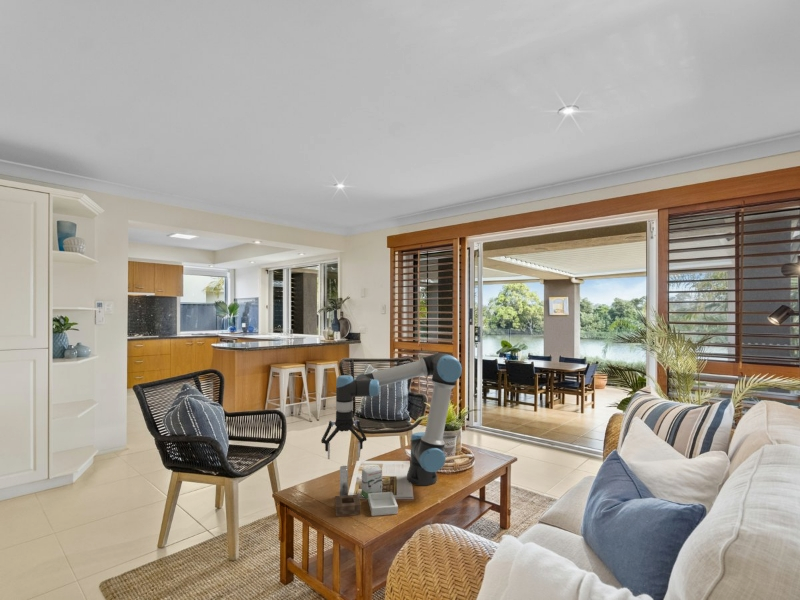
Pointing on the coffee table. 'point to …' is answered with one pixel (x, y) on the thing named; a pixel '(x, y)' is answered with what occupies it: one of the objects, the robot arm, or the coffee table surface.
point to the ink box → (371, 481)
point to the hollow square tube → (347, 505)
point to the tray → (382, 503)
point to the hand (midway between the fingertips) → (343, 457)
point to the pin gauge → (343, 480)
